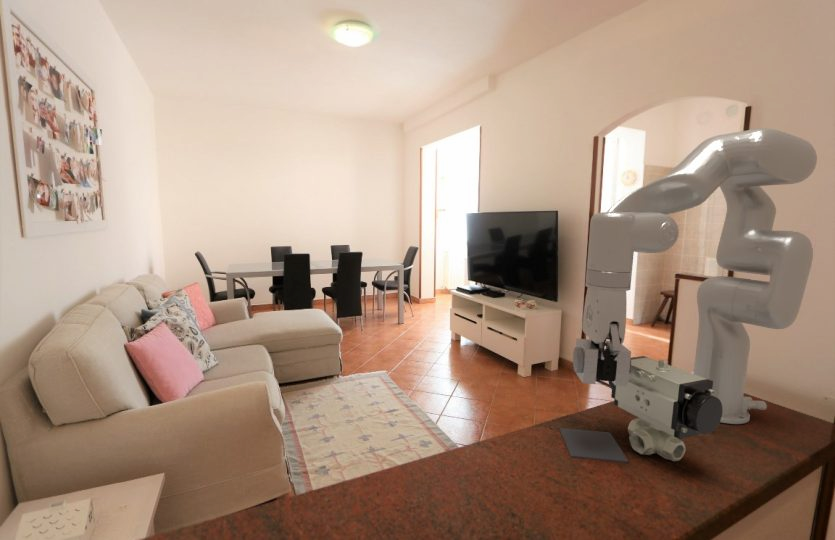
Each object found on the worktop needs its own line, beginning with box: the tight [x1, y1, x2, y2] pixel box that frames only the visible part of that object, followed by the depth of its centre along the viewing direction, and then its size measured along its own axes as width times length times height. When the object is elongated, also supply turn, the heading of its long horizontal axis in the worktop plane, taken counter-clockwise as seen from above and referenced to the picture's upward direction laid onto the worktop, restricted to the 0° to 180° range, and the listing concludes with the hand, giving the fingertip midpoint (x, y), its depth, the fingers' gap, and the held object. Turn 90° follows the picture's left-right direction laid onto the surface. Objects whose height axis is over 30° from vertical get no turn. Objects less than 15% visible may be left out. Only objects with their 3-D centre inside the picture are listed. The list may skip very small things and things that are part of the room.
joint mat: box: [559, 427, 629, 464], centre depth 77 cm, size 10×10×1 cm
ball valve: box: [607, 355, 723, 462], centre depth 75 cm, size 18×8×18 cm, turn 21°
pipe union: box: [572, 338, 632, 387], centre depth 75 cm, size 9×6×6 cm
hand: (600, 373), depth 75 cm, fingers closed on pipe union, 4 cm apart
